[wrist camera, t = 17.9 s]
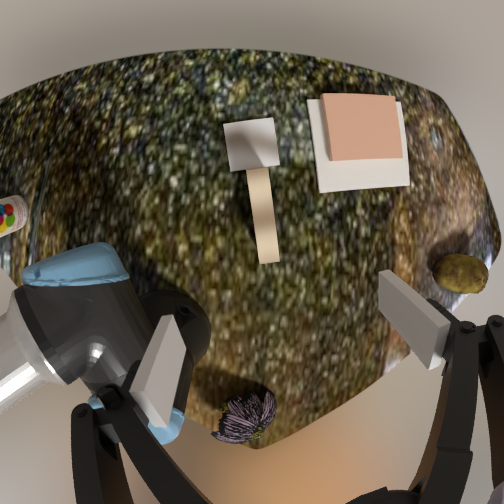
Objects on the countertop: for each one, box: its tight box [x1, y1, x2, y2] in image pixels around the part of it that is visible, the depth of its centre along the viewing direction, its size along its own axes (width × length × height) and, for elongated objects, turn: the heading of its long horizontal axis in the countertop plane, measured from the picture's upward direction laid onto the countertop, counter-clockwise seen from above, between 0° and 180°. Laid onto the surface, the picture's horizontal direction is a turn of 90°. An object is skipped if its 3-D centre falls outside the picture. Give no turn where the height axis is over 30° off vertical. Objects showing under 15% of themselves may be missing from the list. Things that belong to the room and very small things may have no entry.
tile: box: [320, 93, 403, 161], centre depth 34 cm, size 12×2×10 cm
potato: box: [432, 253, 488, 294], centre depth 40 cm, size 8×13×8 cm, turn 71°
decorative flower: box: [211, 390, 277, 444], centre depth 48 cm, size 14×12×15 cm
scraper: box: [223, 118, 280, 264], centre depth 35 cm, size 19×7×6 cm, turn 8°
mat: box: [306, 99, 410, 193], centre depth 36 cm, size 16×14×1 cm
